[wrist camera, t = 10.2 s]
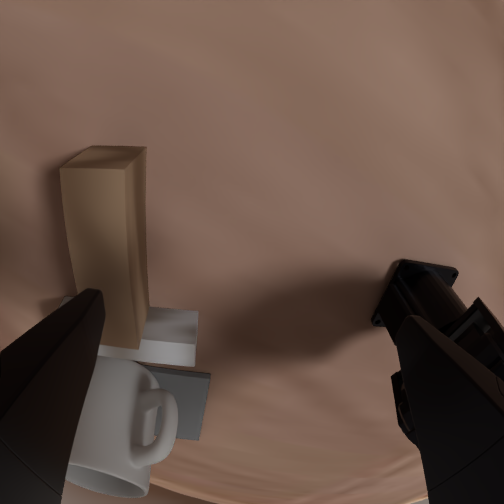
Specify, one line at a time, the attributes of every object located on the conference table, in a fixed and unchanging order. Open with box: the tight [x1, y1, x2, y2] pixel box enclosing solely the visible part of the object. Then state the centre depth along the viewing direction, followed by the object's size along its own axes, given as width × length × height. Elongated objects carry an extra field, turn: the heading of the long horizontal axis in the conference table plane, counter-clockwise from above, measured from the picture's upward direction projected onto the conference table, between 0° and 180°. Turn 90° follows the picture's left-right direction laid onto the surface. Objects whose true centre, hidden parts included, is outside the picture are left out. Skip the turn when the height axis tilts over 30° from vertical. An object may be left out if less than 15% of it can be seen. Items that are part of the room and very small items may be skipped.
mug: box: [65, 355, 178, 498], centre depth 22 cm, size 12×8×11 cm
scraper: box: [59, 146, 198, 367], centre depth 19 cm, size 11×14×4 cm
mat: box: [142, 365, 210, 440], centre depth 30 cm, size 15×14×1 cm
